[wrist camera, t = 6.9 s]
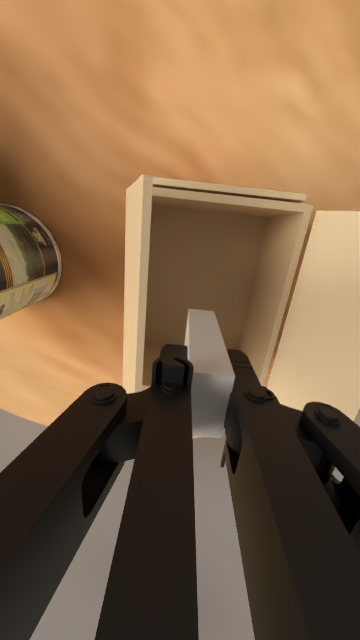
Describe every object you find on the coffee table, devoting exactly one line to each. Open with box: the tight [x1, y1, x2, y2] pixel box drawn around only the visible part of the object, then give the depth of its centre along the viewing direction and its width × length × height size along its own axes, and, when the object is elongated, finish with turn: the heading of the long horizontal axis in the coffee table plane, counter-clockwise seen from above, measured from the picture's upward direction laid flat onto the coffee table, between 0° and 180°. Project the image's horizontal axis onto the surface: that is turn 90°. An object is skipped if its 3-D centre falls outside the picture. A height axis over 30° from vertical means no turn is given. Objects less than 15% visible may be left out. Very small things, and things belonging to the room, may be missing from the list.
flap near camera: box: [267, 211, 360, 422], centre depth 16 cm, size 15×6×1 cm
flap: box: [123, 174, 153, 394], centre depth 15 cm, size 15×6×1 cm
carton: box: [131, 175, 314, 391], centre depth 22 cm, size 17×12×8 cm
